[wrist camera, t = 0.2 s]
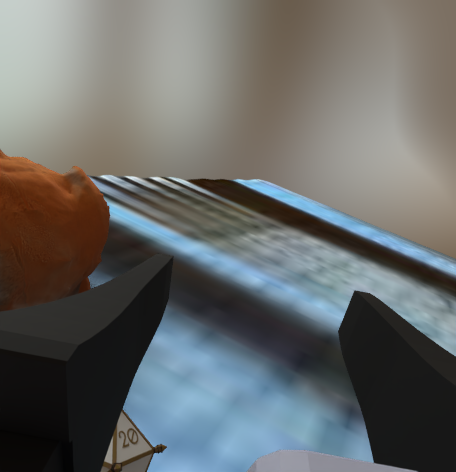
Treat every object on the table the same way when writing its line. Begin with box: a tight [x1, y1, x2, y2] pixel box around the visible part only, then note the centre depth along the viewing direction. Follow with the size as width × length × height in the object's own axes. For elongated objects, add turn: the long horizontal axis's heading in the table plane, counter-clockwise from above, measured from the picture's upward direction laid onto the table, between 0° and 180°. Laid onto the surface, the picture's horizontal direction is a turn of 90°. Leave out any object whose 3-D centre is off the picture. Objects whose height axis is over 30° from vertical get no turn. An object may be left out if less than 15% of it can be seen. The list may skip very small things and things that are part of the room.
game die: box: [101, 409, 167, 472], centre depth 21 cm, size 9×8×10 cm
